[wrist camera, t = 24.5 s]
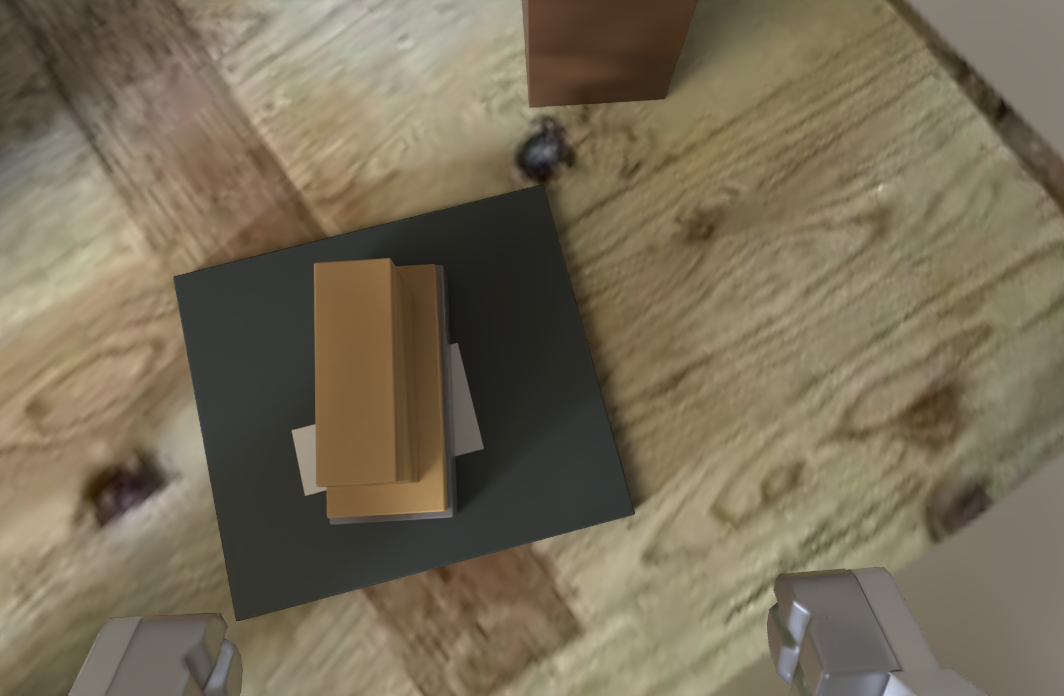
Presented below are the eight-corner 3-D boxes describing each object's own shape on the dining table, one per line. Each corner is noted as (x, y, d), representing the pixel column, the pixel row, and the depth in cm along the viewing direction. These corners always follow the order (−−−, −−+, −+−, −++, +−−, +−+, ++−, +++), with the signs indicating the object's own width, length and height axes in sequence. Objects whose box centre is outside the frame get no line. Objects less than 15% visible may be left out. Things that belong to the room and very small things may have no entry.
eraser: (447, 275, 35) (422, 215, 28) (458, 515, 34) (433, 524, 26) (336, 282, 35) (279, 224, 28) (340, 522, 33) (280, 534, 26)
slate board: (543, 190, 37) (543, 183, 36) (633, 513, 34) (635, 514, 34) (180, 280, 36) (171, 275, 36) (242, 618, 34) (235, 622, 33)
